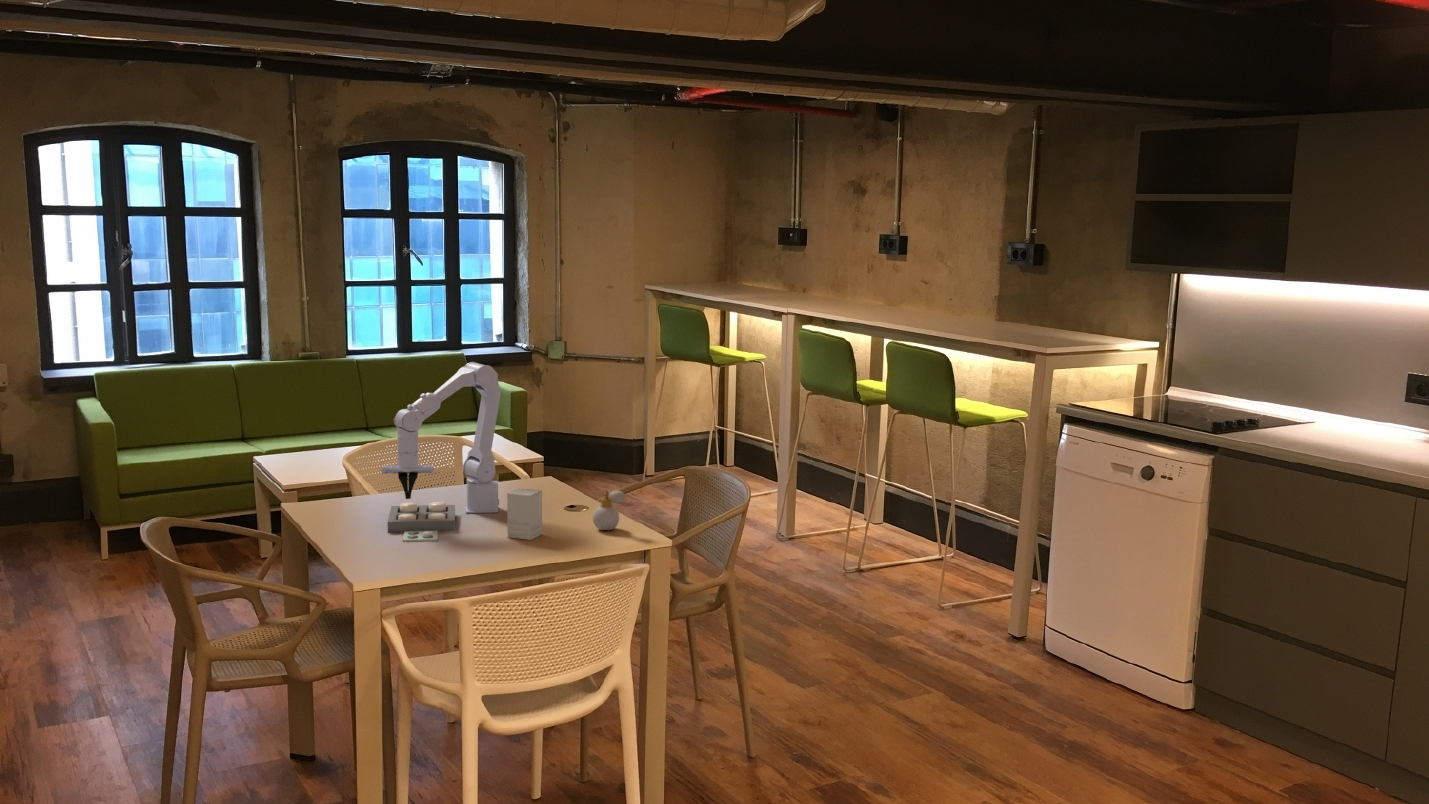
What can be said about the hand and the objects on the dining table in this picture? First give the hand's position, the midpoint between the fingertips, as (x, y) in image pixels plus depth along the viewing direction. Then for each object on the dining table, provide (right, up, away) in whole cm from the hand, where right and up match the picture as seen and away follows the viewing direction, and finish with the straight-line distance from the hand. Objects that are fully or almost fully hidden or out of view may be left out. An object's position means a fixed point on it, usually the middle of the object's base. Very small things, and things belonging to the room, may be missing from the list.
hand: (408, 498), depth 336 cm
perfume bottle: (+58, -9, -3) cm, 59 cm away
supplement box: (+35, -10, -12) cm, 38 cm away
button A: (+2, -7, -7) cm, 10 cm away
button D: (+8, -4, +2) cm, 9 cm away
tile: (+8, -9, -16) cm, 20 cm away
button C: (0, -4, +1) cm, 4 cm away
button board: (+5, -7, -2) cm, 9 cm away
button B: (+9, -7, -5) cm, 13 cm away
